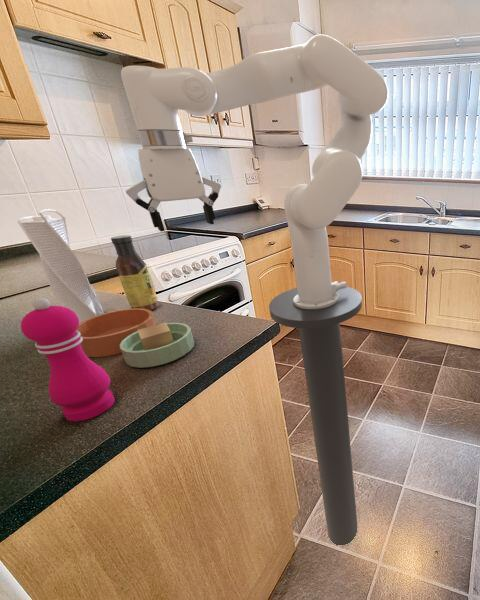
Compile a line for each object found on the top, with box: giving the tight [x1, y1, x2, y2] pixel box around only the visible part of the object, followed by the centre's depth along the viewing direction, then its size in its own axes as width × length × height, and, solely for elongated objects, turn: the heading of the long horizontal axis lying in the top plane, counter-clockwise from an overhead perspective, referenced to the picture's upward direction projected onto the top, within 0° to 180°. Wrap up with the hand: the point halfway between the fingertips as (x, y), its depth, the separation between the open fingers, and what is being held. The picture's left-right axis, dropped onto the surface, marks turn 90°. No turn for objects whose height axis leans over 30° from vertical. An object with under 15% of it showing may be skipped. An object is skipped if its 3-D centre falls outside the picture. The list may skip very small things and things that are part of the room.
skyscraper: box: [17, 208, 106, 323], centre depth 79 cm, size 8×8×28 cm
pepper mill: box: [20, 297, 116, 423], centre depth 52 cm, size 7×7×20 cm
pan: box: [76, 308, 157, 358], centre depth 76 cm, size 14×14×4 cm
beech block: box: [137, 322, 174, 350], centre depth 70 cm, size 5×5×5 cm
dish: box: [120, 322, 195, 368], centre depth 71 cm, size 12×12×4 cm
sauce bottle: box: [110, 234, 159, 312], centre depth 88 cm, size 7×6×20 cm
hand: (187, 226), depth 74 cm, fingers open, 9 cm apart
